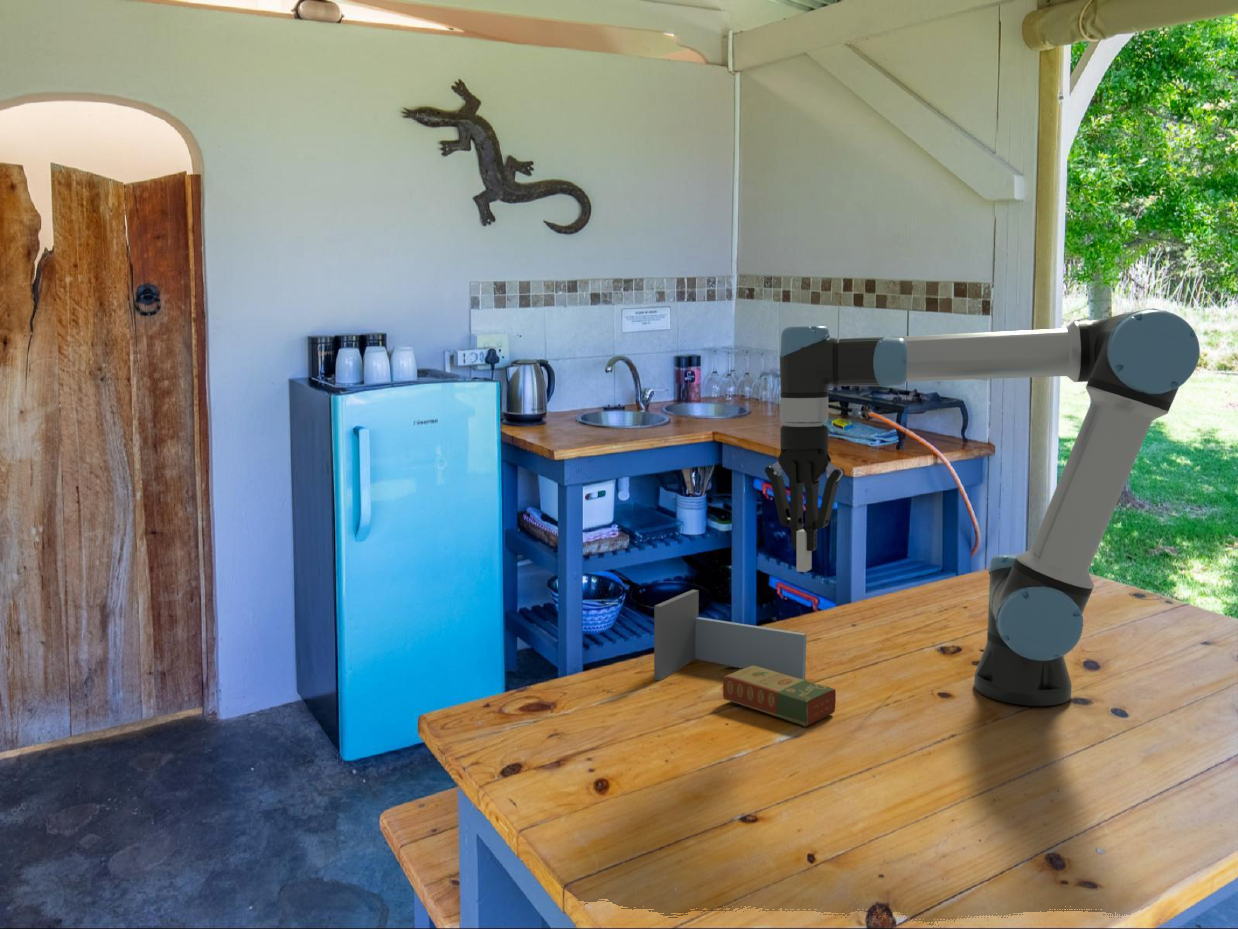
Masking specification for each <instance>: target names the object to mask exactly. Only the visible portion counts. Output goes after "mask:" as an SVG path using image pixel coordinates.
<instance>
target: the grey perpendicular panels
mask: <svg viewBox="0 0 1238 929" xmlns="http://www.w3.org/2000/svg"><path fill="white" fill-rule="evenodd" d="M699 593H700V592H699V590H698V589H691V590H689V591H686V592H683V593H681V594H679V595H676V596H674V597H671V598H670V599H668V600H665V601H662V602H661V603H658V604H655V605H654V610H653V611H654V615H653V617H654V618H653V619H654V623H653V624H654V628H653V630H654V632H653V634H654V636H653V637H654V639H653V640H654V642H653V643H654V644H653V649H654V650H653V651H654V652H653V654H654V655H653V656H654V657H653V658H654V664H653V666H654V667H653V668H654V669H653V680H655V681H659V682H660V681H662V680H664V679H666V678H668V677H669V676H671V675H674V674H675V673H677V672H678V671H680V670H681V669H683V668H684V667H685V666H687V665H689V664H690V663H692V661H694V660H699V661H704V662H709V663H712V664H713V663H714V664H719V665H723V664H724V665H723V666H728V665H729V666H728V667H731V668H732V667H734V668H737V667H738V669H742V668H743V669H744V668H747V667H750V666H753V665H754V666H757V667H761V668H765V669H768V670H771V671H775V672H778V673H782V674H785V675H788V676H792V677H795V678H799V679H802V680H805V679H806V674H807V673H806V670H807V669H806V668H807V667H806V663H807V633H803V632H797V631H791V630H787V629H786V630H784V629H780V628H779V629H778V628H771V627H765V626H760V625H759V626H758V625H753V624H752V625H751V624H747V623H746V624H745V623H740V622H732V621H725V620H719V619H712V618H706V617H700V616H699V606H700V605H699V602H700V601H699V598H700V596H699Z"/></svg>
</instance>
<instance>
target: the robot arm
mask: <svg viewBox="0 0 1238 929" xmlns="http://www.w3.org/2000/svg"><path fill="white" fill-rule="evenodd" d="M780 334H781V336H780V352H779V353H780V354H779V373H780V374H779V377H780V378H779V379H780V380H779V382H780V383H779V386H780V391H779V392H780V404H779V405H780V406H779V407H780V410H779V411H780V412H779V413H780V415H779V421H780V422H781V423H783V425H781V427H780V430H779V432H780V436H779V437H780V438H779V440H780V442H779V443H780V444H779V445H780V453H779V455H778V456H777V461H776V462H775V463H773V464H772V465H768V466H766V467H765V468H764V473H765V475H766V476H767V477H768V480H769V481H770V484H771V489H772V493H773V498H774V503H775V507H776V511H777V515H778V521H779V524H780V525H781V526H783V527H787V528H789V529H790V534H791V535H790V538H791V541H790V542H791V543H790V544H791V545H790V546H791V550H794V551H796V572H801V573H806V572H808V571H810V570H813V569H812V568H813V567H812V564H813V563H812V561H813V560H812V552H814V551H816V550H817V548H818V530H819V529H824V528H826V527H827V526H829V524H830V519H831V515H832V511H833V507H834V504H835V498H836V495H837V492H838V491H837V490H838V486H839V483H840V481H841V480H842V479H843V477H844V475H845V473H846V471H845V469H844V468H843V467H840V468H839V467H838V466H836V465H835V464H834V463H832V459H831V457H830V454H829V427H828V426H827V425H825V423H827V422H828V421H829V388H830V387H882V388H885V387H892V386H893V387H895V386H902V385H904V384H905V383H906V382H929V381H932V382H934V381H961V380H966V381H967V380H991V379H1020V378H1023V379H1024V378H1025V379H1026V378H1046V377H1047V378H1050V377H1051V378H1052V377H1066V378H1069V379H1070V381H1072V382H1073V383H1086V386H1085V389H1086V392H1087V393H1088V396H1089V397H1090V404H1089V407H1088V409H1087V412H1086V415H1085V416H1084V419H1083V421H1082V425H1081V426H1080V429H1079V431H1078V434H1077V436H1076V439H1075V441H1074V443H1073V445H1072V449H1071V450H1070V454H1069V456H1068V458H1067V460H1066V463H1065V465H1064V467H1063V470H1062V473H1061V475H1060V477H1059V480H1058V482H1057V485H1056V487H1055V490H1054V492H1053V494H1052V497H1051V500H1050V502H1049V504H1048V507H1047V508H1046V512H1045V514H1044V517H1043V519H1042V522H1041V524H1040V526H1039V528H1038V531H1037V533H1036V536H1035V539H1034V540H1033V543H1032V546H1031V548H1030V549H1029V550H1027V551H1024V552H1021V553H1019V554H996V555H994V556H992V558H991V560H990V566H989V569H988V575H989V585H988V586H989V589H988V591H989V592H988V607H987V610H988V612H987V633H986V634H987V635H986V636H987V637H986V645H985V647H984V649H983V652H982V655H981V657H980V660H979V662H978V664H977V668H976V670H975V671H974V684H973V685H974V686H973V687H974V689H975V690H976V692H978V693H979V694H981V695H982V696H985V697H987V698H990V699H992V700H996V701H1000V702H1004V703H1009V704H1014V705H1021V706H1022V705H1024V706H1031V707H1033V706H1035V707H1036V706H1037V707H1039V706H1041V707H1042V706H1043V707H1045V706H1056V705H1060V704H1061V705H1062V704H1065V703H1066V702H1068V701H1070V700H1071V697H1072V687H1073V686H1072V680H1071V677H1070V674H1069V670H1068V668H1067V663H1066V660H1065V655H1067V654H1068V653H1070V652H1071V651H1072V650H1073V649H1074V648H1075V647H1076V646H1077V645H1078V643H1079V641H1080V639H1081V636H1082V635H1083V634H1082V633H1083V630H1084V629H1083V628H1084V617H1083V613H1084V611H1085V609H1086V607H1087V603H1088V601H1089V599H1090V597H1091V594H1092V592H1093V589H1094V587H1095V584H1094V581H1093V579H1092V578H1091V576H1090V571H1089V570H1090V568H1091V565H1092V563H1093V561H1094V558H1095V556H1096V554H1097V551H1098V549H1099V546H1100V544H1101V542H1102V540H1103V538H1104V535H1105V533H1106V530H1107V527H1109V524H1110V521H1111V519H1112V517H1113V516H1112V515H1113V514H1114V511H1115V509H1116V507H1117V504H1118V502H1119V500H1120V497H1121V495H1122V493H1123V490H1124V488H1125V486H1126V483H1127V480H1128V479H1129V476H1130V473H1131V472H1132V469H1133V467H1134V463H1135V462H1136V459H1137V457H1138V455H1139V452H1140V449H1141V448H1142V445H1143V444H1144V441H1145V438H1146V436H1147V434H1148V431H1149V429H1150V427H1151V425H1152V422H1153V421H1154V420H1156V419H1158V418H1161V417H1163V416H1166V415H1168V414H1169V411H1170V409H1171V406H1172V405H1173V403H1174V400H1175V397H1176V395H1177V393H1178V390H1179V388H1180V387H1181V386H1183V385H1184V384H1185V383H1186V382H1187V381H1188V379H1190V378H1191V376H1192V375H1193V373H1194V372H1195V370H1196V368H1197V365H1198V363H1199V359H1200V352H1201V349H1200V341H1199V338H1198V336H1197V334H1196V331H1195V330H1194V329H1193V327H1192V326H1191V325H1190V324H1189V323H1188V322H1187V321H1186V319H1184V318H1182V317H1181V316H1179V315H1178V314H1175V313H1173V312H1170V311H1167V310H1164V309H1157V308H1155V307H1154V308H1144V309H1138V310H1135V311H1130V312H1125V313H1121V314H1118V315H1113V316H1109V317H1105V318H1104V317H1103V318H1099V319H1093V320H1083V321H1082V320H1081V321H1078V320H1077V321H1073V322H1071V323H1070V324H1069V326H1067V327H1066V328H1064V327H1063V328H1049V329H1048V328H1047V329H1044V328H1043V329H1030V330H1029V329H1027V330H1010V331H1009V330H1008V331H1006V330H1005V331H987V332H985V331H984V332H967V333H966V332H965V333H964V332H963V333H945V334H929V335H928V334H924V335H907V336H906V335H905V336H881V337H880V336H879V337H878V336H877V337H874V336H873V337H871V336H870V337H853V338H837V337H836V338H835V337H831V336H830V332H829V328H828V327H827V326H823V325H815V326H813V325H812V326H809V325H807V326H787V327H785V328H784V329H783V330H782V332H781V333H780ZM783 472H784V473H785V475H786V477H787V478H788V487H789V489H790V490H789V491H790V492H789V493H790V494H789V496H788V493H787V488H786V485H785V480H784V478H783ZM825 473H826V475H825V476H826V478H827V479H826V483H825V486H824V489H823V493H822V498H821V502H820V505H819V488H820V479H821V478H822V476H823V475H824V474H825ZM804 490H805V491H804ZM804 492H805V493H804ZM804 494H805V497H804ZM788 497H789V498H788ZM804 498H805V499H804ZM804 500H805V506H804ZM804 507H805V516H804ZM804 518H805V522H804ZM804 526H805V527H804ZM803 527H804V528H803Z"/></svg>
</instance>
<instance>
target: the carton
mask: <svg viewBox="0 0 1238 929" xmlns="http://www.w3.org/2000/svg"><path fill="white" fill-rule="evenodd" d="M722 696H723V697H722V698H723V700H725V701H728V702H731V703H734V704H738V705H741V706H744V707H748V708H750V709H753V710H756V711H759V712H762V713H765V714H768V715H771V716H773V717H777V718H779V719H782V720H785V721H787V722H791V723H794V724H797V725H799V726H802V727H808V726H810V725H812V724H814V723H816V722H818V721H820V720H822V719H824V718H826V717H828V716H830V715H833V713H835V711H836V701H837V700H836V699H837V698H836V689H835V688H834V687H830V686H826V685H823V684H821V683H820V684H819V683H816V682H813V681H809V680H805V679H804V680H802V679H799V678H795V677H792V676H788V675H785V674H782V673H778V672H775V671H771V670H768V669H765V668H761V667H757V666H754V665H753V666H750V667H747V668H744V669H742V668H740V669H739V670H737V671H734V672H732V673H728V674H727V675H724V676H723V682H722Z"/></svg>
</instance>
